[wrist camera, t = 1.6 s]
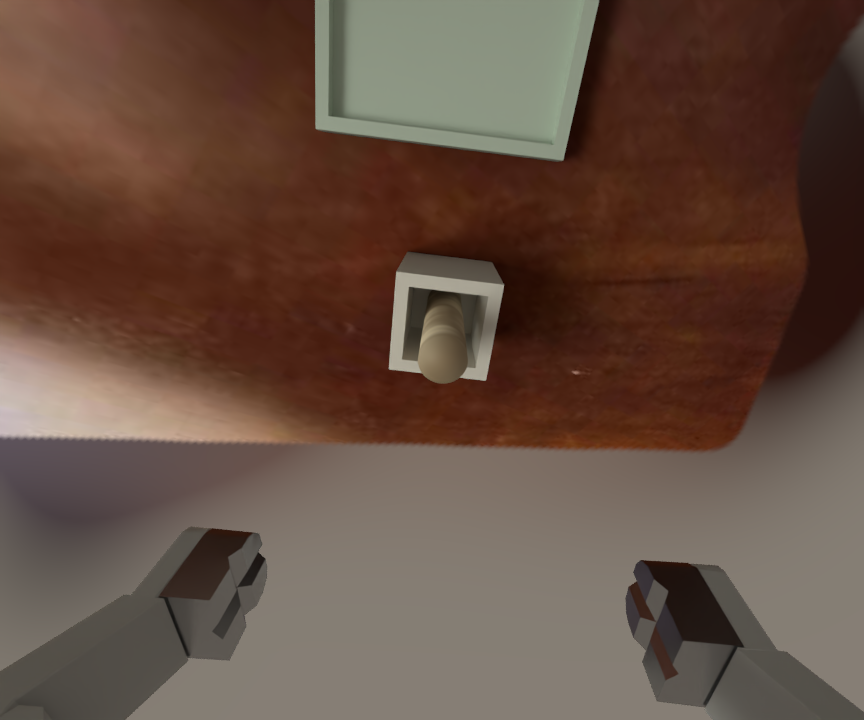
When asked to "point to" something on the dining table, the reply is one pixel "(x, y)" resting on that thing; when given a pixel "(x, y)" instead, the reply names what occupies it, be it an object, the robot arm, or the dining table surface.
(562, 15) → the tray
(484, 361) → the cup
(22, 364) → the dining table surface
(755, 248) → the dining table surface
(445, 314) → the dowel
